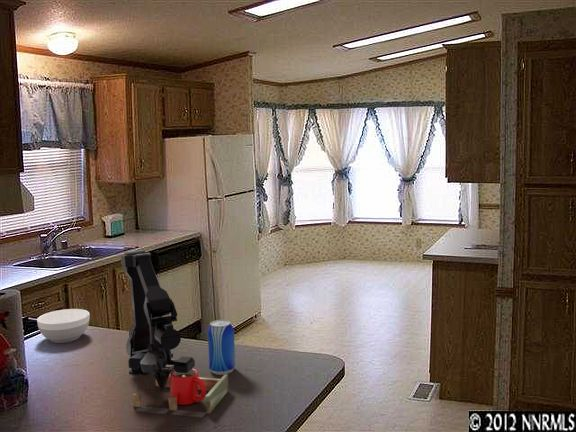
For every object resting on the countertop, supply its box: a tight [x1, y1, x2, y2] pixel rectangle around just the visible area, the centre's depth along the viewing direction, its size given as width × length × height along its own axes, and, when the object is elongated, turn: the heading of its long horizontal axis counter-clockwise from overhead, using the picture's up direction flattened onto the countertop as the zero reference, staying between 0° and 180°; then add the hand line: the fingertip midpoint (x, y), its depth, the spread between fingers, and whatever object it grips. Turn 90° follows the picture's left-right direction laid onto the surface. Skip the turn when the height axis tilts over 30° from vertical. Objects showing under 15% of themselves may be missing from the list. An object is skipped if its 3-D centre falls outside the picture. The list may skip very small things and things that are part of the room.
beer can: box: [207, 319, 236, 376], centre depth 193 cm, size 8×8×16 cm
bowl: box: [36, 308, 90, 344], centre depth 229 cm, size 19×19×9 cm
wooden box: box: [132, 374, 229, 418], centre depth 173 cm, size 23×18×5 cm
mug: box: [169, 368, 207, 406], centre depth 172 cm, size 8×12×8 cm, turn 60°
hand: (162, 390), depth 175 cm, fingers closed
